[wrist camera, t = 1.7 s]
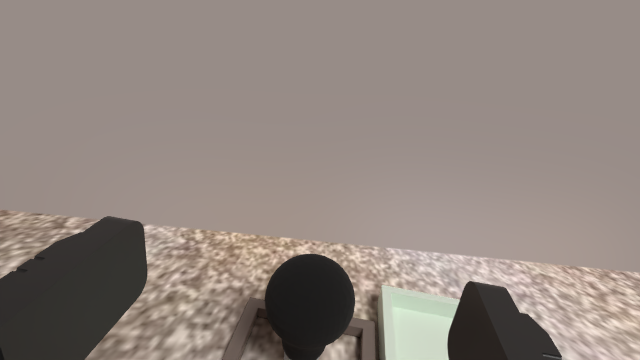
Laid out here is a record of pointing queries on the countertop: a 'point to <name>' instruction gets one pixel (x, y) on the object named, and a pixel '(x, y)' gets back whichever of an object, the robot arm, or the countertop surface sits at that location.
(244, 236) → the countertop surface
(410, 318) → the parts tray
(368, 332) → the brown square frame
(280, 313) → the light bulb
